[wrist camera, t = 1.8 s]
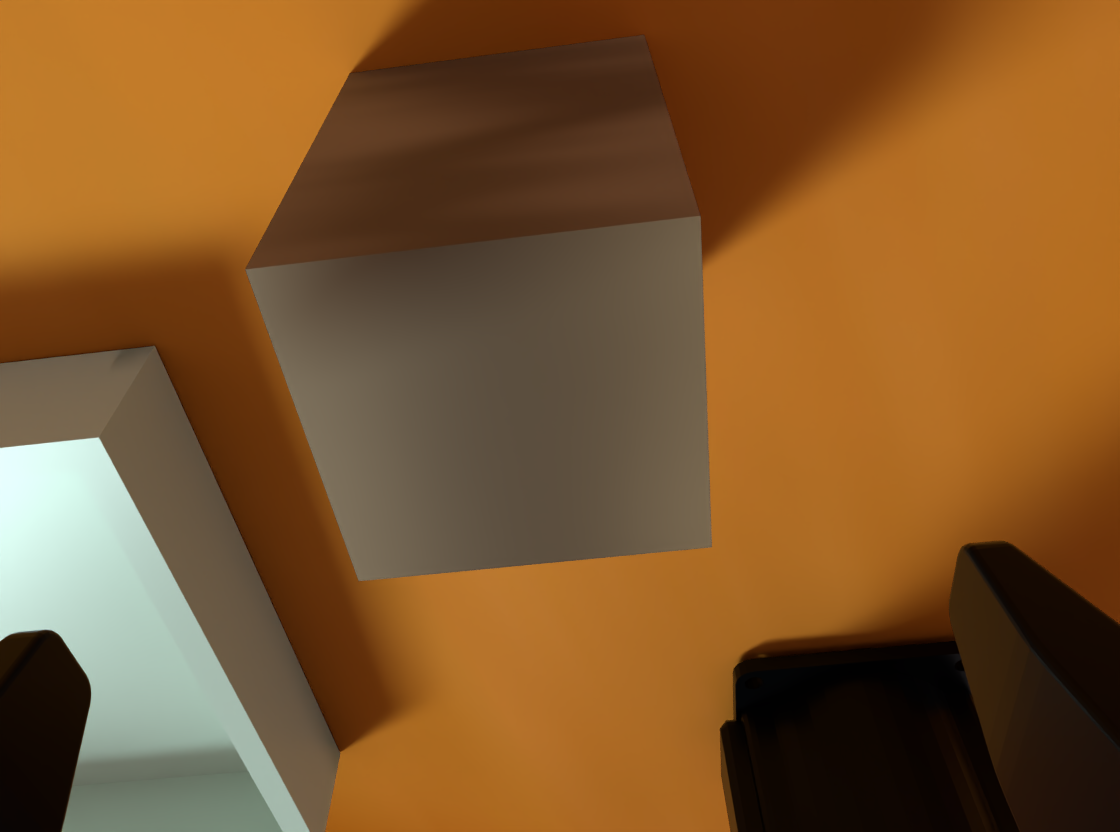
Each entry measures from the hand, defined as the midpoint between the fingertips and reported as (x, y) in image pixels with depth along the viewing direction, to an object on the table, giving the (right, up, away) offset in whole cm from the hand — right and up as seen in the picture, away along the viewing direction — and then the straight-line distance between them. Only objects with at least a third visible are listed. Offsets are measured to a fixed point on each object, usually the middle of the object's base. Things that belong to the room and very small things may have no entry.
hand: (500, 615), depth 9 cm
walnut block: (0, +6, +8) cm, 10 cm away
